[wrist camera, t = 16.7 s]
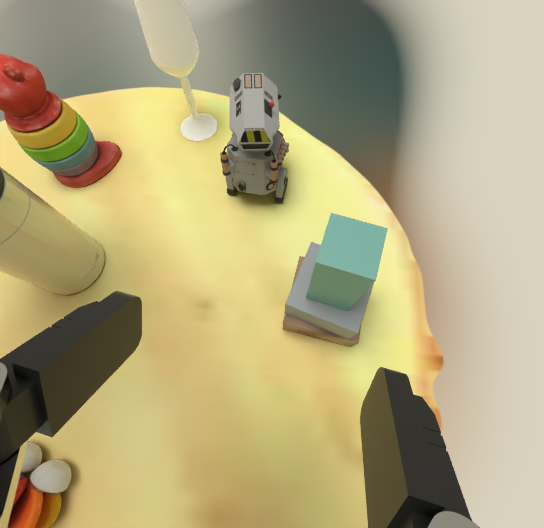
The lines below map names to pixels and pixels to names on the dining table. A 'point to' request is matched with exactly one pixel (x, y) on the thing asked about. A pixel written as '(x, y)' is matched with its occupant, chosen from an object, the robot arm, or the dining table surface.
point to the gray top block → (319, 312)
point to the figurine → (255, 139)
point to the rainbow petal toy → (38, 490)
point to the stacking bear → (51, 127)
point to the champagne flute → (175, 55)
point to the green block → (346, 261)
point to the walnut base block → (312, 330)
